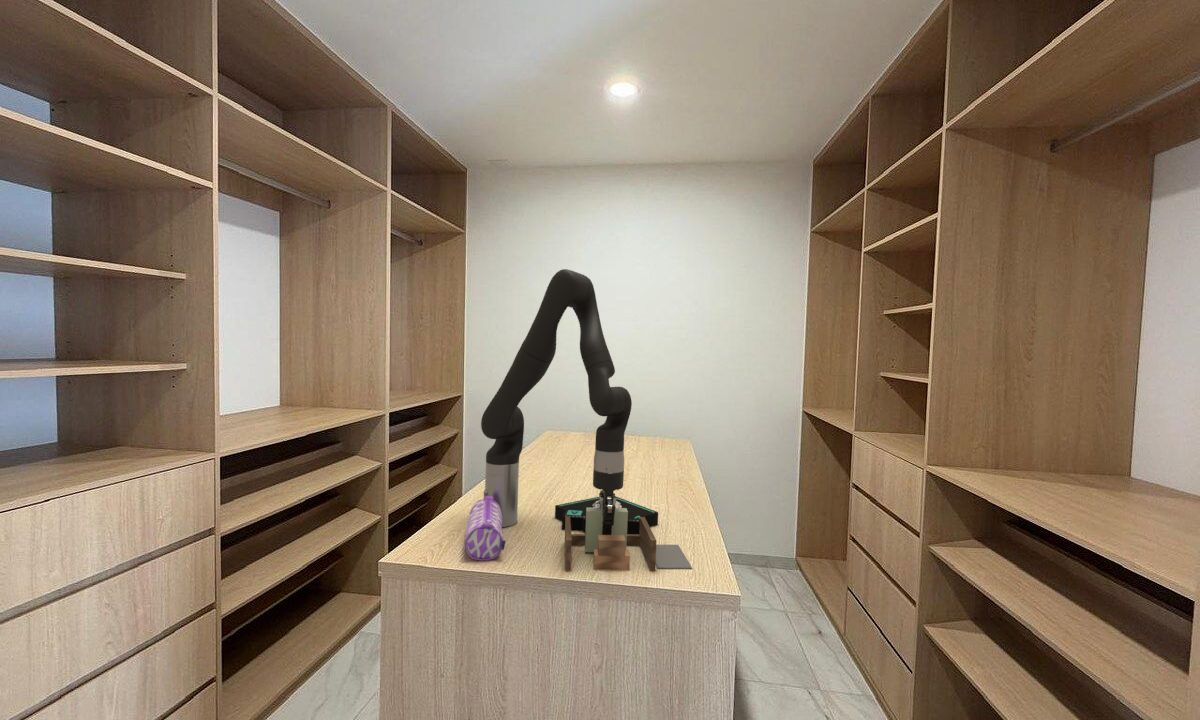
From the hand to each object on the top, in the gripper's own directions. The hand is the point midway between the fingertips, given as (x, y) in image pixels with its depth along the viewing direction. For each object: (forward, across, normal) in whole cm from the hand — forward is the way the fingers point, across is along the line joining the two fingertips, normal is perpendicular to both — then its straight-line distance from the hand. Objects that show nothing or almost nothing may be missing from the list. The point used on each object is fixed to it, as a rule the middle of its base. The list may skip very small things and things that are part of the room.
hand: (605, 537), depth 128 cm
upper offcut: (0, +9, 0) cm, 9 cm away
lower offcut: (+4, +9, +1) cm, 10 cm away
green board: (+3, 0, 0) cm, 3 cm away
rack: (+4, +3, 0) cm, 5 cm away
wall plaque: (+4, -22, +2) cm, 23 cm away
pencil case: (+4, -4, -30) cm, 31 cm away
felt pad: (+4, +3, +15) cm, 16 cm away
